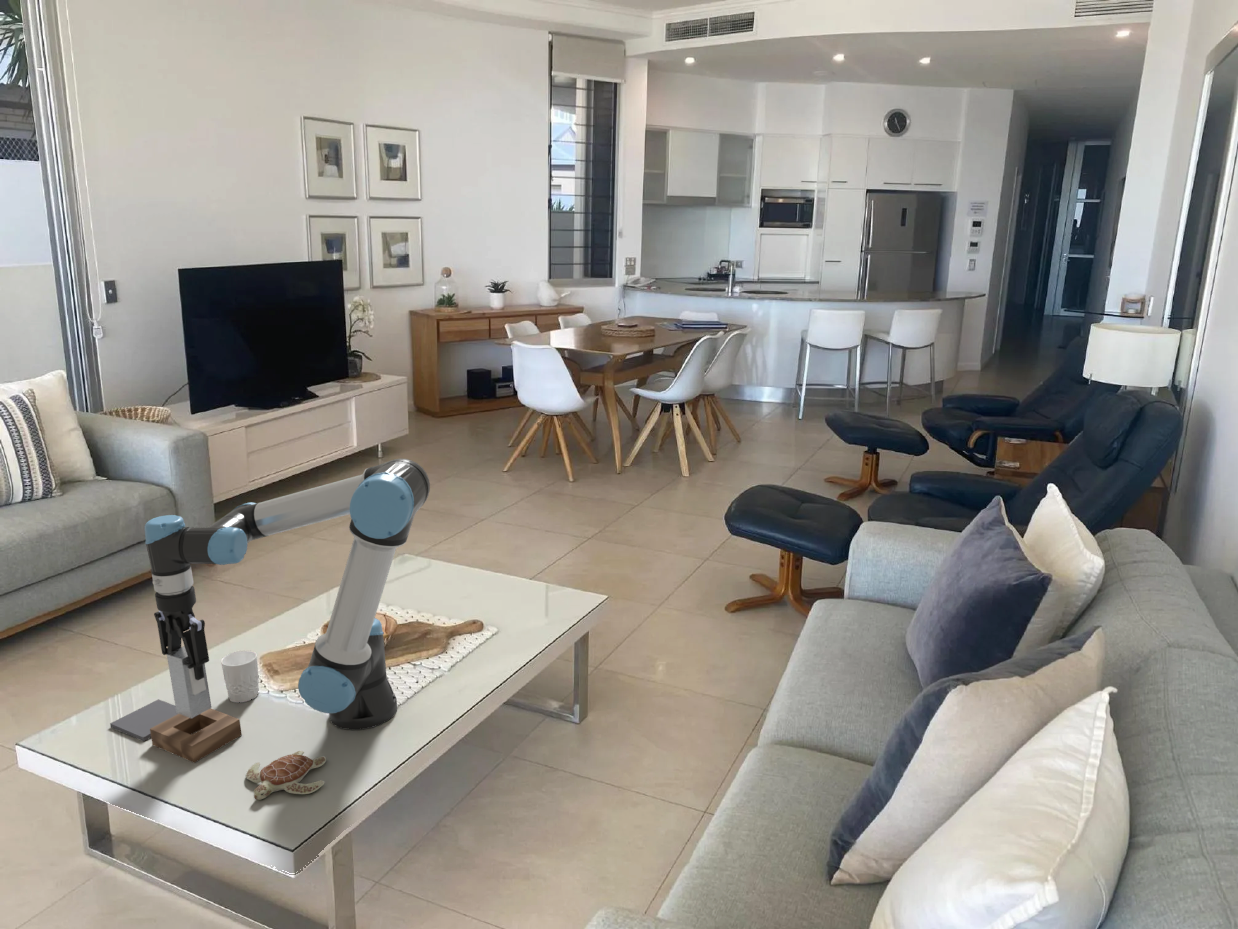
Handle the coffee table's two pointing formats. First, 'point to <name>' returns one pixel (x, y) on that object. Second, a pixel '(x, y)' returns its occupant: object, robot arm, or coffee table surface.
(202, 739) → the walnut holder
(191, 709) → the metal peg
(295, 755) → the decorative turtle
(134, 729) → the rubber mat
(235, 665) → the white cup
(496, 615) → the coffee table surface
